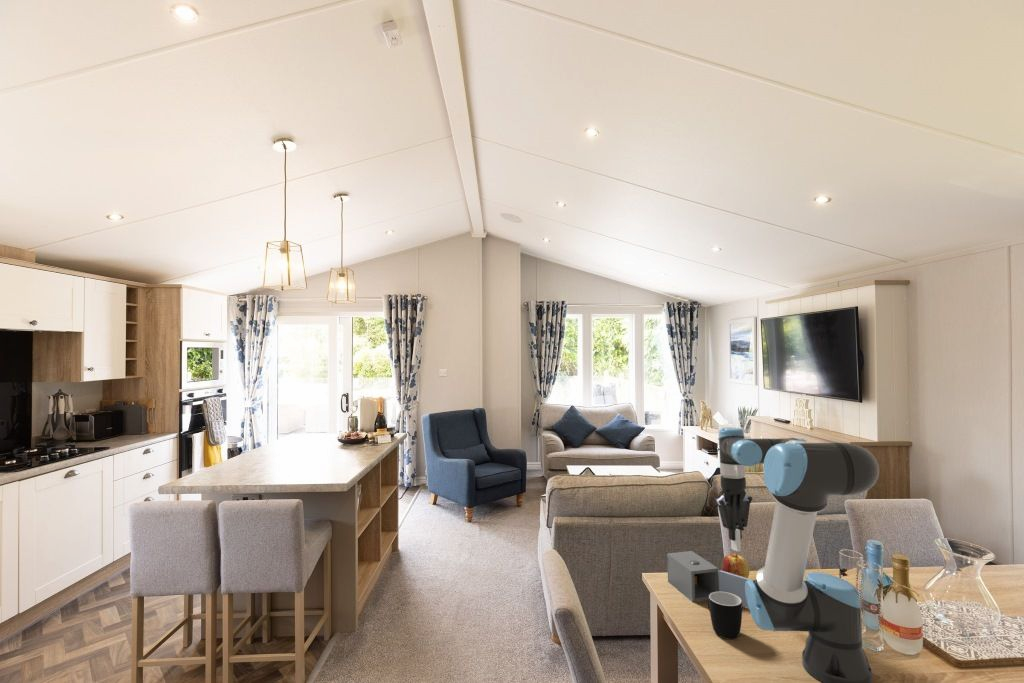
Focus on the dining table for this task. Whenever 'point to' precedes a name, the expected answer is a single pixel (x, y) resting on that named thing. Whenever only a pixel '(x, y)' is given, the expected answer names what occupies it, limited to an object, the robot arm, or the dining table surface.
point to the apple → (735, 565)
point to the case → (692, 575)
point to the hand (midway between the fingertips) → (736, 549)
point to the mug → (725, 614)
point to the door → (733, 585)
